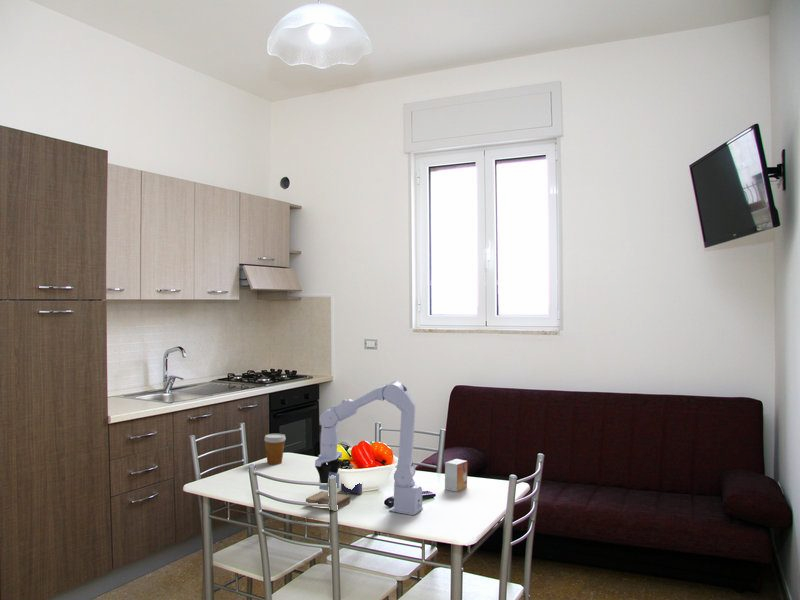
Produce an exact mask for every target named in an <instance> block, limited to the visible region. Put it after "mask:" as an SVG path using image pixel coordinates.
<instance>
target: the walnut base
mask: <svg viewBox="0 0 800 600" xmlns="http://www.w3.org/2000/svg"><path fill="white" fill-rule="evenodd" d="M336 494H337V505H338V510H340V509H342V508H344V507H346V506H348V505H349V504H351V496H350V495H346V494H341V493H336ZM306 502H308V503H318V504H328V503H329V496H328V491H325V490H321V491H319V492H317V493H315V494H313V495H311V496H309V497H306V498H305V503H306ZM318 509H320V510H325V511H330V510H329V508H318ZM338 510H337V511H338Z"/></svg>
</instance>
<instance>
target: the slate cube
mask: <svg viewBox="0 0 800 600" xmlns="http://www.w3.org/2000/svg"><path fill="white" fill-rule="evenodd" d="M331 475H334V476H336V483H337V489H338V488H340V473H339V472H338V473H334V472H329V475H328V478H329V476H331ZM318 482H319V483H321V481H320V477H319V481H318ZM327 483H328V482H327ZM318 488H319V490H321V491H326V492H328V486H318Z"/></svg>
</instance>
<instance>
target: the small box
mask: <svg viewBox="0 0 800 600" xmlns="http://www.w3.org/2000/svg"><path fill="white" fill-rule="evenodd" d="M467 488H468V460H464V459H459V458H455V459H452V460H448V461H445V462H444V490H446V491H447V490H448V491H452V492H460V491H462V490H464V489H467Z"/></svg>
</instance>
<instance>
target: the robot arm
mask: <svg viewBox="0 0 800 600" xmlns="http://www.w3.org/2000/svg"><path fill="white" fill-rule="evenodd" d="M376 400H378V401H382V402H383V401H384V400H385V401H387V402H388V403H390V404H392V405H393V406H395V407H396V408H397V409H398V410H399V411H400V412H401V413H400V429H399V445H398V446H399V448H398V458H397V464H396V470H395V471H394V473H393V479H394V480H393V481H394V482H393V483H394V485H393V486H394V488H393V506H392V507H391V508H389V509H388V510H389V512H394V513H399V514H406V515H409V516H415V515H416V514H418V513H419V512H420V511H422V510H423V509H424V507H423V488H422V487H421V486H419V485H417V484H416V481H415V480H414V476H415V474H416V466H415V465H414V457H413V454H414V436H415V421H416V420H415V417H416V416H415V415H416V403H415V402H414V399H413V398H412V396H411V394H410V393H409V390H408V388H407V386H405V385H404V383H402V382H400V381H396V380H395V381H392V382H390V383H387V384H384V385H381V386H378V387H376V388H375V389H372V390H371V391H369V392H367V393H365V394H363V395H362V396H360V397H358V398H356V399H351V398H347V399H346V398H344V399H342V400H341V402H339V403H338V404H336V405H332V406H330V408H328V409H326V410H324V411H323V412H322V413H321V414H320V416H319V423H320V425H321V430H320V454H318V458H316V459H315V460H314V467H315V469H316V470H317V471H316V472H318V476H319V478H320V481H321V483H327V482H328V475H329V472H334V473H339V469H340V467H341V465H342V463H343V460H342V459H341V458H343V452H342V451H338V423H339V422H342V421H345V420H347V419H348V418H350V417H351V416H352V417H353V416H354V415H356V414H357V412H358V410H359V408H361V407H364V406H366V405H367V404H370V403H372V402H374V401H376Z"/></svg>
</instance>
